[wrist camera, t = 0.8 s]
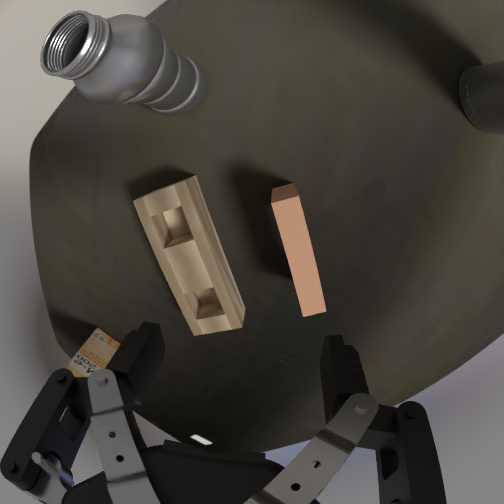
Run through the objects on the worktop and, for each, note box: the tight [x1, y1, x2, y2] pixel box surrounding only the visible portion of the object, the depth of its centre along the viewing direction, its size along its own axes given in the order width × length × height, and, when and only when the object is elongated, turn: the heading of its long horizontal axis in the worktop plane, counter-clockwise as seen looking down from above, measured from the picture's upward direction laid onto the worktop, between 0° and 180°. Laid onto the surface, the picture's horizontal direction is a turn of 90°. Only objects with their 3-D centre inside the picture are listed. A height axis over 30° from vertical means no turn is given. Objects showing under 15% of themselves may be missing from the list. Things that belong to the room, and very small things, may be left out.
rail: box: [133, 175, 245, 336], centre depth 32 cm, size 6×18×4 cm, turn 17°
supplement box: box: [66, 327, 121, 377], centre depth 36 cm, size 8×5×13 cm, turn 55°
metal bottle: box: [40, 11, 207, 116], centre depth 17 cm, size 6×7×20 cm
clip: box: [271, 183, 326, 317], centre depth 29 cm, size 2×12×7 cm, turn 17°
